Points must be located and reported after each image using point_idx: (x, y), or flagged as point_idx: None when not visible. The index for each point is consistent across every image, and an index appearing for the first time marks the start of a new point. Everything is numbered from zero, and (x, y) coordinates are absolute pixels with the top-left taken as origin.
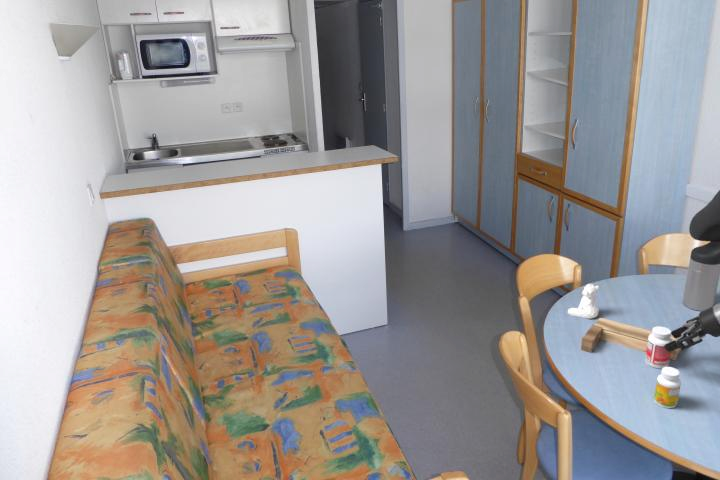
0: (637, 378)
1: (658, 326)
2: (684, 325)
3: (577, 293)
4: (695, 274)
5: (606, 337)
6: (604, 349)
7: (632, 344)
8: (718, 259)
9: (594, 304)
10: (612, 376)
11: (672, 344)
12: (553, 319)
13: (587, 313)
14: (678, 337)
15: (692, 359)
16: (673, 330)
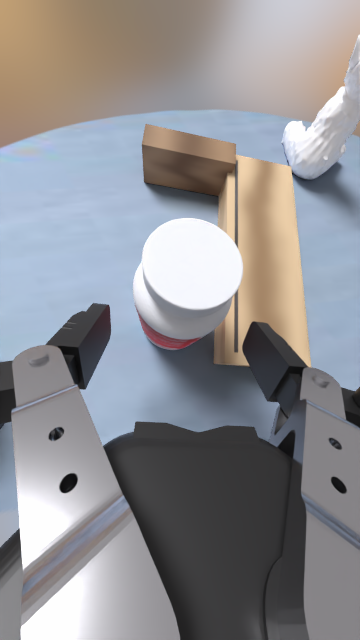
0: (67, 284)
1: (233, 243)
2: (310, 382)
3: None
4: None
5: (221, 198)
6: (175, 206)
7: None
8: None
9: (334, 134)
10: (52, 230)
11: (55, 336)
12: (245, 115)
13: (297, 148)
14: (247, 359)
15: (244, 408)
16: (271, 328)
